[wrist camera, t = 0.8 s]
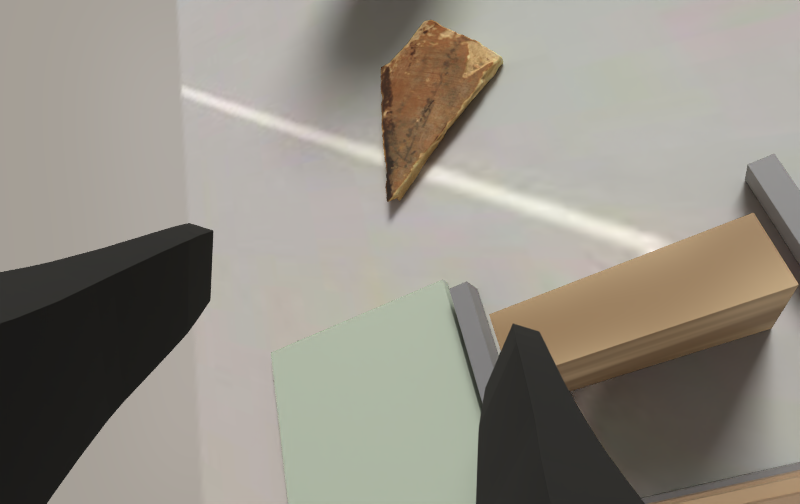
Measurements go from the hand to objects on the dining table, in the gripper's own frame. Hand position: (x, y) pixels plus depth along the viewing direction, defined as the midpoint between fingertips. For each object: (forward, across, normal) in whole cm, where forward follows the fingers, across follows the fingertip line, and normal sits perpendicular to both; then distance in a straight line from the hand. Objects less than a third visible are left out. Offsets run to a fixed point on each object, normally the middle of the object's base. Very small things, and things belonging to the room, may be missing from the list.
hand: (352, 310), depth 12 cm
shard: (+23, 0, +1) cm, 23 cm away
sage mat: (+10, -1, +14) cm, 17 cm away
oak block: (+11, -11, +5) cm, 16 cm away
